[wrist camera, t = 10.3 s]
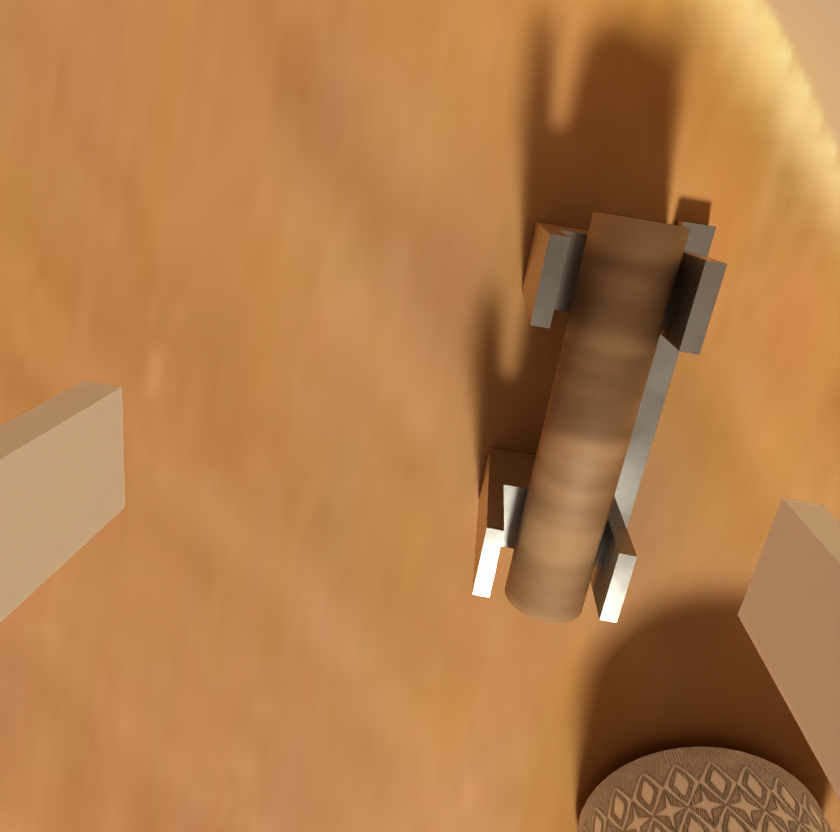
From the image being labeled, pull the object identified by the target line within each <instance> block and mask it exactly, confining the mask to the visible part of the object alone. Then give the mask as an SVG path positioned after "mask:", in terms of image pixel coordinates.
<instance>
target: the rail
mask: <svg viewBox="0 0 840 832" xmlns="http://www.w3.org/2000/svg"><path fill="white" fill-rule="evenodd" d="M689 231H690V228H688V227H683V226H677V225H672V224H666V223H660V222H654V221H649V220H643V219H637V218H631V217H625V216H618V215H612V214H606V213H599V212H593V214H592V218H591V222H590V227H589V231H588V235H587V239H586V244H585V248H584V252H583V257H582V261H581V265H580V269H579V274H578V278H577V282H576V287H575V291H574V295H573V299H572V304H571V308H570V312H569V317H568V321H567V325H566V329H565V334H564V338H563V342H562V347H561V351H560V355H559V359H558V364H557V368H556V372H555V377H554V381H553V385H552V389H551V394H550V398H549V402H548V407H547V411H546V415H545V419H544V424H543V428H542V432H541V437H540V441H539V445H538V449H537V454H536V458H535V462H534V467H533V471H532V475H531V479H530V484H529V488H528V492H527V497H526V501H525V505H524V509H523V514H522V518H521V522H520V527H519V531H518V535H517V539H516V544H515V548H514V552H513V557H512V561H511V565H510V569H509V574H508V578H507V582H506V587H505V594H506V596H507V599H508V600H509V602H510V603H511V604H512V605H513V606H514V607H515V608H517V609H518V610H519V611H521V612H522V613H524V614H526V615H528V616H530V617H532V618H535V619H538V620H541V621H545V622H551V623H565V622H569V621H572V620H574V619H576V618H577V617H578V616H579V615H580V614H581V612H582V608H583V604H584V601H585V597H586V594H587V590H588V587H589V583H590V580H591V576H592V573H593V569H594V566H595V562H596V559H597V555H598V552H599V548H600V545H601V541H602V538H603V534H604V530H605V527H606V523H607V520H608V516H609V513H610V509H611V506H612V502H613V499H614V495H615V492H616V488H617V485H618V481H619V478H620V474H621V471H622V467H623V464H624V460H625V456H626V453H627V449H628V446H629V442H630V439H631V435H632V432H633V428H634V425H635V421H636V418H637V414H638V411H639V407H640V404H641V400H642V397H643V393H644V389H645V386H646V382H647V379H648V375H649V372H650V368H651V365H652V361H653V358H654V354H655V351H656V347H657V344H658V340H659V337H660V333H661V330H662V326H663V323H664V319H665V315H666V312H667V308H668V305H669V301H670V298H671V294H672V291H673V287H674V284H675V280H676V277H677V273H678V270H679V266H680V263H681V259H682V256H683V252H684V249H685V245H686V241H687V238H688V234H689Z"/></svg>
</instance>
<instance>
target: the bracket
mask: <svg viewBox="0 0 840 832" xmlns="http://www.w3.org/2000/svg"><path fill="white" fill-rule="evenodd" d="M677 226H683V227H688V228H690V231H689V234H688V238H687V241H686V245H685V249H684V252H683V256H682V259H681V263H680V266H679V270H678V273H677V277H676V280H675V284H674V287H673V291H672V294H671V298H670V301H669V305H668V308H667V312H666V315H665V319H664V323H663V326H662V330H661V333H660V337H659V340H658V344H657V347H656V351H655V354H654V358H653V361H652V365H651V368H650V372H649V375H648V379H647V382H646V386H645V389H644V393H643V397H642V400H641V404H640V407H639V411H638V414H637V418H636V421H635V425H634V428H633V432H632V435H631V439H630V442H629V446H628V449H627V453H626V456H625V460H624V464H623V467H622V471H621V474H620V478H619V481H618V485H617V488H616V492H615V495H614V499H613V502H612V506H611V509H610V513H609V516H608V520H607V523H606V527H605V530H604V534H603V538H602V541H601V545H600V548H599V552H598V555H597V559H596V562H595V566H594V569H593V573H592V576H591V580H590V581H591V585H592V589H593V593H594V598H595V602H596V606H597V611H598V615H599V619H600V620H604V621H609V622H614V623H617V621H618V617H619V614H620V611H621V608H622V604H623V601H624V598H625V595H626V591H627V588H628V585H629V582H630V578H631V575H632V572H633V569H634V565H635V562H636V559H637V555H636V552H635V550H634V547H633V544H632V542H631V539H630V536H629V534H628V531H627V526H628V522H629V519H630V516H631V512H632V509H633V505H634V502H635V499H636V495H637V492H638V489H639V485H640V482H641V478H642V475H643V472H644V468H645V465H646V462H647V458H648V455H649V451H650V448H651V445H652V441H653V438H654V435H655V431H656V428H657V424H658V421H659V418H660V414H661V411H662V408H663V404H664V401H665V397H666V394H667V391H668V387H669V384H670V381H671V377H672V374H673V370H674V367H675V364H676V360H677V357H678V354H679V351H681V352H687V353H692V354H698V355H699V354H700V351H701V347H702V344H703V341H704V338H705V334H706V331H707V328H708V325H709V321H710V318H711V315H712V312H713V308H714V305H715V302H716V299H717V295H718V292H719V289H720V286H721V282H722V279H723V276H724V273H725V269H726V266H727V264H726V263H723V262H720V261H717V260H714V259H711V258H708V257H707V256H708V252H709V249H710V246H711V242H712V239H713V235H714V232H715V229H716V227H714V226H708V225H702V224H696V223H690V222H684V221H677ZM588 231H589V230H584V229H578V228H572V227H566V226H560V225H554V224H548V223H542V222H536V225H535V230H534V235H533V239H532V244H531V249H530V254H529V259H528V264H527V269H526V273H525V278H524V283H523V288H522V291H523V295H524V300H525V304H526V309H527V313H528V318H529V322H530V325H533V326H538V327H544V328H550V325H551V321H552V317H553V312H554V310H560V311H566V312H570V308H571V304H572V299H573V295H574V291H575V287H576V282H577V278H578V274H579V269H580V265H581V261H582V257H583V252H584V248H585V244H586V239H587V235H588ZM535 458H536V455H532V454H527V453H522V452H516V451H511V450H506V449H500V448H495V447H490V448H489V453H488V458H487V463H486V467H485V472H484V477H483V482H482V487H481V492H480V497H479V504H478V519H477V534H476V549H475V564H474V579H473V595H478V596H483V597H488V598H489V597H490V592H491V588H492V583H493V579H494V574H495V570H496V566H497V561H498V557H499V552H500V548H501V546H503V547H509V548H515V544H516V539H517V535H518V531H519V527H520V522H521V518H522V514H523V509H524V505H525V501H526V497H527V492H528V488H529V484H530V479H531V475H532V471H533V467H534V462H535Z"/></svg>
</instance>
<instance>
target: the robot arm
mask: <svg viewBox="0 0 840 832" xmlns="http://www.w3.org/2000/svg"><path fill="white" fill-rule="evenodd" d="M124 507H125V487H124V449H123V411H122V387H119V386H113V385H107V384H101V383H95V382H89V381H84V382H82V383H80V384H78V385H76V386H74V387H72V388H70V389H69V390H67V391H65V392H63V393H61V394H59V395H57V396H55V397H53V398H51V399H49V400H48V401H46V402H44V403H42V404H40V405H38V406H36V407H34V408H32V409H30V410H29V411H27V412H25V413H23V414H21V415H19V416H17V417H15V418H13V419H11V420H10V421H8V422H6V423H4V424H2V425H0V622H2V621H3V620H4V619H5V618H6V617H7V616H8V615H9V614H10V613H11V612H12V611H13V610H14V609H16V608H17V607H18V606H19V605H20V604H21V603H22V602H23V601H24V600H25V599H26V598H27V597H28V596H30V595H31V594H32V593H33V592H34V591H35V590H36V589H37V588H38V587H39V586H40V585H41V584H43V583H44V582H45V581H46V580H47V579H48V578H49V577H50V576H51V575H52V574H53V573H54V572H55V571H57V570H58V569H59V568H60V567H61V566H62V565H63V564H64V563H65V562H66V561H67V560H68V559H69V558H71V557H72V556H73V555H74V554H75V553H76V552H77V551H78V550H79V549H80V548H81V547H82V546H83V545H85V544H86V543H87V542H88V541H89V540H90V539H91V538H92V537H93V536H94V535H95V534H96V533H97V532H99V531H100V530H101V529H102V528H103V527H104V526H105V525H106V524H107V523H108V522H109V521H110V520H111V519H113V518H114V517H115V516H116V515H117V514H118V513H119V512H120V511H121V510H122V509H123V508H124ZM738 617H739V618H740V620H741V622H742V624H743V626H744V628H745V629H746V631H747V633H748V635H749V637H750V638H751V640H752V642H753V644H754V646H755V647H756V649H757V651H758V653H759V655H760V657H761V658H762V660H763V662H764V664H765V666H766V667H767V669H768V671H769V673H770V675H771V677H772V678H773V680H774V682H775V684H776V686H777V687H778V689H779V691H780V693H781V695H782V697H783V698H784V700H785V702H786V704H787V706H788V707H789V709H790V711H791V713H792V715H793V717H794V718H795V720H796V722H797V724H798V726H799V727H800V729H801V731H802V733H803V735H804V736H805V738H806V740H807V742H808V744H809V746H810V747H811V749H812V751H813V753H814V755H815V756H816V758H817V760H818V762H819V764H820V766H821V767H822V769H823V771H824V773H825V775H826V776H827V778H828V780H829V782H830V784H831V786H832V787H833V789H834V791H835V793H836V795H837V796H838V798H839V800H840V522H839V521H838V520H837V519H836V518H835V517H834V516H833V515H832V514H831V513H830V512H829V511H828V510H827V509H826V508H825V507H824V506H823V505H820V504H814V503H808V502H802V501H796V500H790V499H785V498H782V500H781V503H780V505H779V508H778V511H777V513H776V516H775V519H774V521H773V524H772V526H771V529H770V532H769V534H768V537H767V540H766V542H765V545H764V547H763V550H762V553H761V555H760V558H759V560H758V563H757V566H756V568H755V571H754V574H753V576H752V579H751V581H750V584H749V587H748V589H747V592H746V594H745V597H744V600H743V602H742V605H741V608H740V610H739V613H738Z"/></svg>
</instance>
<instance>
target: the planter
mask: <svg viewBox="0 0 840 832" xmlns="http://www.w3.org/2000/svg"><path fill="white" fill-rule="evenodd" d="M577 832H832V830H831V828H830V826H829V824H828V822H827V820H826V818H825V816H824V814H823V812H822V810H821V808H820V806H819V804H818V803H817V801H816V799H815V798H814V797H813V795H812V794H811V793H810V791H809V790H808V789H807V788H806V787H805V786H804V785H803V784H802V783H801V782H800V781H799V780H798V779H797V778H796V777H794V776H793V775H792V774H790V773H789V772H787V771H786V770H784V769H783V768H781V767H780V766H778V765H776V764H774V763H772V762H770V761H767V760H765V759H763V758H761V757H758V756H755V755H752V754H748V753H745V752H742V751H737V750H731V749H726V748H718V747H702V746H699V747H682V748H675V749H670V750H664V751H659V752H656V753H653V754H650V755H646V756H643V757H641V758H638V759H636V760H634V761H632V762H630V763H628V764H625V765H624V766H622V767H621V768H619V769H618V770H616V771H614V772H613V773H611V774H610V775H609V776H608V777H607V778H605V779H604V780H603V781H602V782H601V783H600V784H599V785H598V786H597V787H596V788H595V790H594V791H593V792H592V793H591V795H590V796H589V797H588V799H587V801H586V803H585V805H584V807H583V809H582V811H581V814H580V818H579V822H578V828H577Z"/></svg>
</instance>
